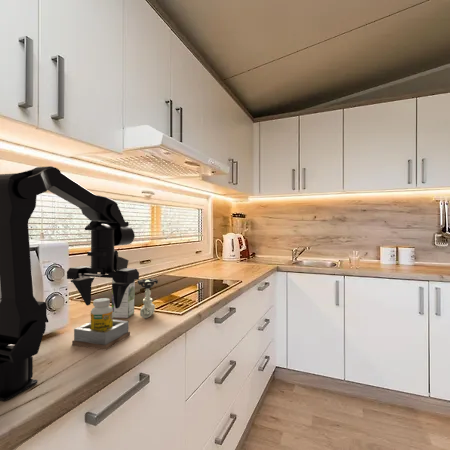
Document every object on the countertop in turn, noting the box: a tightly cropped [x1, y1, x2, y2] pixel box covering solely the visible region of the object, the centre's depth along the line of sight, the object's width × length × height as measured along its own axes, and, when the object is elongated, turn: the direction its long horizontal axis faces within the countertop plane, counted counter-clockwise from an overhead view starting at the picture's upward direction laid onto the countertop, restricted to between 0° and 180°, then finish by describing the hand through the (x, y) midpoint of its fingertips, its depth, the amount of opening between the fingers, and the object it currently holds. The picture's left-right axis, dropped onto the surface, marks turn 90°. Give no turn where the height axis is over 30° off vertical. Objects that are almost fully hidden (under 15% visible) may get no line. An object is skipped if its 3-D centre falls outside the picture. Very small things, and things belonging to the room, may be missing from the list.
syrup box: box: [111, 278, 136, 319], centre depth 101 cm, size 6×6×14 cm
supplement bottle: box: [90, 297, 114, 331], centre depth 80 cm, size 5×5×10 cm
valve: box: [137, 278, 159, 319], centre depth 101 cm, size 7×7×12 cm
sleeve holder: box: [71, 319, 131, 351], centre depth 80 cm, size 10×10×4 cm
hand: (102, 306), depth 80 cm, fingers open, 9 cm apart
